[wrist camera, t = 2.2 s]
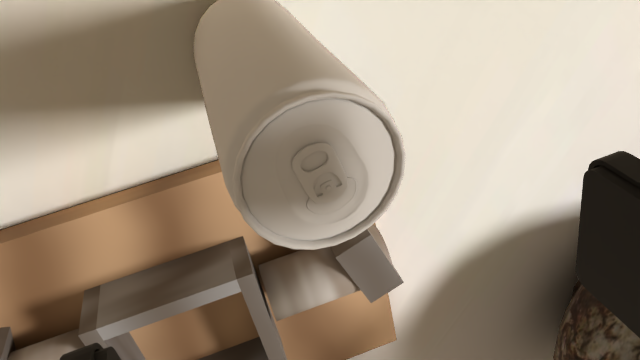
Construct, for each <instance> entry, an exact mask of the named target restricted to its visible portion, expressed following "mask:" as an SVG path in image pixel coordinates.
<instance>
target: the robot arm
mask: <svg viewBox="0 0 640 360" xmlns="http://www.w3.org/2000/svg"><path fill="white" fill-rule="evenodd" d="M576 274H577V277H578V279H579V281H580V283H581V284H582V285H583V286H584V287H585V288H586V289H587V290H588V291H589V292H590V293H591V294H592V295H593V296H594V297H595V298H597V299H598V300H599V301H600V302H601V303H602V304H603V305H604V306H605V307H606V308H607V309H608V310H610V311H611V312H612V313H613V314H614V315H615V316H616V317H617V318H618V319H619V320H620V321H622V322H623V323H624V324H625V325H626V326H627V327H628V328H629V329H630V330H631V331H632V332H633V333H635V334H636V335H637V336H638V337H639V338H640V159H638V158H637V157H635V156H633V155H631V154H629V153H627V152H624V151H619V152H616V153H613V154H610V155H608V156H605V157H602V158H599V159H597V160H594V161H592V162H591V164H590V165H589V168H588V171H586V173H585V174H584V178H583V189H582V201H581V212H580V224H579V236H578V247H577V259H576ZM60 360H121V358H120V357H119V355H118V354H117V352H116V350H115V349H114V348H113V347H111V346H110V347H107V348H104V349H103V347H102V346H101V345H100V344H98V343H93V344H90V345H88V346H85V347H82V348H79V349H77V350H74V351H71V352H69V353H66V354H63V355H62V356H61V357H60Z"/></svg>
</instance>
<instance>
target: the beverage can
mask: <svg viewBox="0 0 640 360" xmlns="http://www.w3.org/2000/svg"><path fill="white" fill-rule="evenodd" d="M193 48H194V58H195V64H196V68H197V72H198V76H199V80H200V84H201V89H202V93H203V98H204V102H205V107H206V111H207V115H208V120H209V124H210V128H211V131H212V135H213V139H214V143H215V147H216V151H217V155H218V158H219V162H220V166H221V170H222V174H223V178H224V182H225V185H226V188H227V190H228V192H229V194H230V197H231V199H232V201H233V203H234V205H235V207H236V208H237V209H238V210H239V212H240V213H241V215H242V217H243V219H244V221H245V222H246V223H247V224H248V225H249V226H250V227H251V228H252V229H253V230H254V231H255V232H256V233H257V234H258V235H260V236H261V237H263V238H265V239H266V240H268V241H270V242H272V243H273V244H276V245H279V246H283V247H287V248H291V249H304V250H315V249H320V248H325V247H330V246H335V245H338V244H340V243H342V242H345V241H347V240H349V239H352V238H354V237H356V236H357V235H359V234H360V233H362V232H363V231H365V230H366V229H367V228H369V227H370V226H372V225H373V224H374V223H375V222H376V221H377V220H378V219H379V218H380V217H381V216H382V215H383V214H384V213H385V212H386V211H387V209H388V207H389V206H390V204H391V203H392V201H393V199H394V198H395V196H396V195H397V193H398V190H399V187H400V184H401V182H402V179H403V176H404V169H405V149H404V145H403V140H402V135H401V133H400V132H399V130H398V128H397V127H396V125H395V121H394V119H393V118H392V116H391V114H390V113H389V111H388V109H387V107H386V106H385V104H384V103H383V101H382V100H381V99H380V98H379V97H378V96H377V95H376V94H375V93H374V92H373V91H371V90H370V89H369V88H368V87H367V86H366V85H365V84H364V83H363V82H362V81H361V80H360V79H359V78H358V77H357V76H356V75H355V74H354V73H353V72H352V71H350V70H349V69H348V68H347V67H346V66H345V65H344V64H343V63H342V62H341V61H340V60H339V59H337V58H336V57H335V56H334V55H333V54H332V53H331V52H330V51H329V50H328V49H327V48H326V47H324V46H323V45H322V44H321V43H320V42H319V41H318V40H317V39H316V38H315V37H314V36H313V35H312V34H311V33H310V32H309V31H308V30H307V29H306V28H305V27H304V26H303V25H302V24H301V23H300V22H299V21H298V20H297V19H296V18H295V17H294V16H293V15H292V14H291V13H290V12H289V11H288V10H286V9H285V8H284V7H283V6H282V5H280V4H279V3H278V2H277V1H275V0H218V1H216V2H215V3H214V4H212V5H211V6H210V7H209V8H208V9H207V10H206V12H205V13H204V14H203V16H202V17H201V18H200V21H199V23H198V26H197V29H196V31H195V38H194V46H193Z"/></svg>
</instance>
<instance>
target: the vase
mask: <svg viewBox="0 0 640 360" xmlns="http://www.w3.org/2000/svg"><path fill="white" fill-rule="evenodd" d="M553 358H554V360H640V338H639V337H638V336H637V335H636V334H635V333H633V332H632V331H631V330H630V329H629V328H628V327H627V326H626V325H625V324H624V323H623V322H622V321H620V320H619V319H618V318H617V317H616V316H615V315H614V314H613V313H612V312H611V311H610V310H608V309H607V308H606V307H605V306H604V305H603V304H602V303H601V302H600V301H599V300H598V299H597V298H595V297H594V296H593V295H592V294H591V293H590V292H589V291H588V290H587V289H586V288H585V287H584V286H583V285H582V284H581V283H580V281H579V280H578V281H577V283H576V285H575V286H574V289H573V294H572V298H571V302H570V303H569V305H568V306H567V308H566V311H565V313H564V316H563V319H562V321H561V324H560V327H559V332H558V337H557V342H556V347H555V352H554V356H553Z"/></svg>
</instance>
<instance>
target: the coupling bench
mask: <svg viewBox="0 0 640 360" xmlns="http://www.w3.org/2000/svg"><path fill="white" fill-rule="evenodd" d="M402 283H404V282H403V281H402V279H401V277H400V276H399V274H398V273H397V271H396V269H395V268H394V266H393V265H392V261H391V258H390V255H389V252H388V249H387V246H386V244H385V242H384V240H383V237H382V235H381V234H380V232H379V230H378V229H377V227H376V224H375V223H374V224H373V225H372V226H370V227H369V228H367V229H366V230H365V231H363V232H362V233H360V234H359V235H357V236H356V237H354V238H352V239H349V240H347V241H345V242H342V243H340V244H338V245H335V246H330V247H325V248H320V249H315V250H304V249H291V248H287V247H283V246H279V245H276V244H273V243H272V242H270V241H268V240H266V239H265V238H263V237H261V236H260V235H258V234H257V233H256V232H255V231H254V230H253V229H252V228H251V227H250V226H249V225H248V224H247V223H246V222H245V221H244V219H243V217H242V215H241V213H240V212H239V210H238V209H237V208H236V207H235V205H234V203H233V201H232V199H231V197H230V194H229V192H228V190H227V188H226V185H225V182H224V178H223V174H222V170H221V166H220V162H219V160H217V161H214V162H210V163H207V164H204V165H201V166H198V167H195V168H192V169H189V170H186V171H183V172H179V173H176V174H173V175H170V176H167V177H164V178H161V179H158V180H155V181H151V182H148V183H145V184H142V185H139V186H136V187H133V188H130V189H127V190H124V191H120V192H117V193H114V194H111V195H108V196H105V197H102V198H99V199H96V200H92V201H89V202H86V203H83V204H80V205H77V206H74V207H71V208H68V209H65V210H61V211H58V212H55V213H52V214H49V215H46V216H43V217H40V218H37V219H33V220H30V221H27V222H24V223H21V224H18V225H15V226H12V227H9V228H6V229H2V230H0V360H60V357H61V356H62V355H63V354H66V353H69V352H71V351H74V350H77V349H79V348H82V347H85V346H88V345H90V344H93V343H98V344H100V345H101V346H102V347H103V349H104V348H107V347H110V346H111V347H113V348H114V349H115V350H116V352H117V354H118V355H119V357H120V358H121V360H346V359H349V358H351V357H354V356H356V355H359V354H362V353H364V352H367V351H369V350H372V349H375V348H377V347H380V346H382V345H385V344H388V343H390V342H393V341H395V340H396V334H395V329H394V323H393V318H392V312H391V307H390V301H389V296H388V292H390V291H391V290H393V289H394V288H396V287H397V286H399V285H401V284H402Z"/></svg>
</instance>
